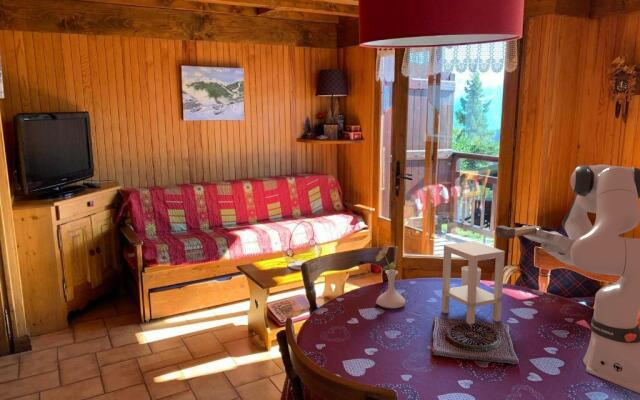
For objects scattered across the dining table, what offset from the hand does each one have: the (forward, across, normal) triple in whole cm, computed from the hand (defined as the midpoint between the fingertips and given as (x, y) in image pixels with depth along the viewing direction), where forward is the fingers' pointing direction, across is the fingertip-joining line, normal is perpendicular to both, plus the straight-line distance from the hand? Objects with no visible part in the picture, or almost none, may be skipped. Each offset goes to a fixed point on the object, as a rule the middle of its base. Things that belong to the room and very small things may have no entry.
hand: (532, 228), depth 191 cm
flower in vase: (+28, -21, +52) cm, 62 cm away
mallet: (+4, 0, +4) cm, 6 cm away
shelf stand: (+9, 0, +40) cm, 41 cm away
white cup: (-6, -21, +32) cm, 39 cm away
